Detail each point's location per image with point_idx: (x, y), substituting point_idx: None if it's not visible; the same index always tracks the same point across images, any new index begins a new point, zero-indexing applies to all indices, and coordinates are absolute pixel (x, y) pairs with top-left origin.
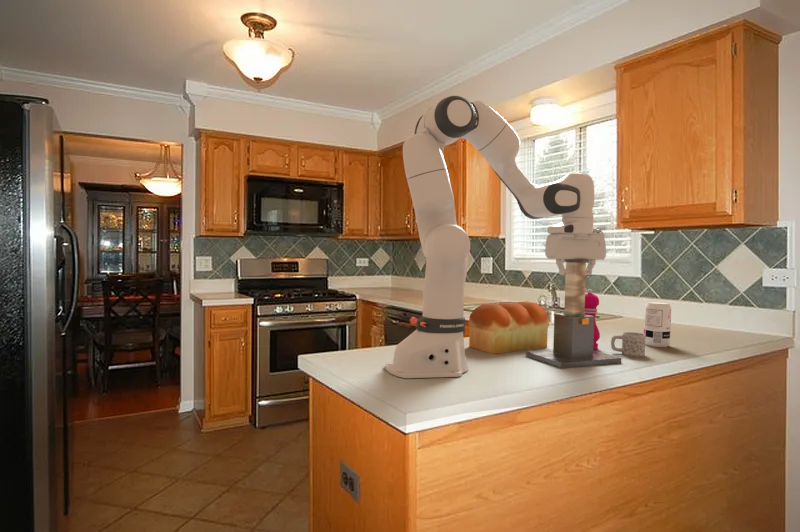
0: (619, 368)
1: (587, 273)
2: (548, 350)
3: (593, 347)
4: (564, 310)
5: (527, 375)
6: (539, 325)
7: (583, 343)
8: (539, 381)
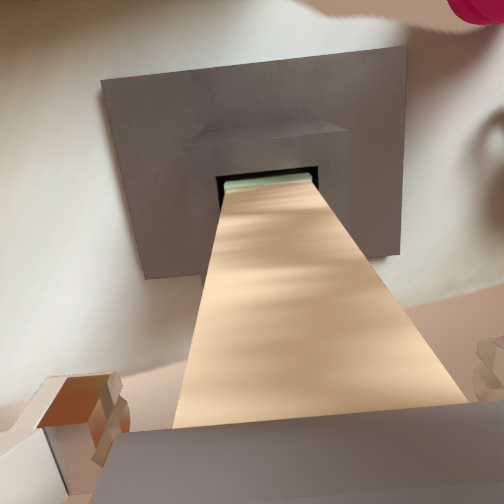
0: None
1: (483, 393)
2: (207, 84)
3: (482, 23)
4: (226, 190)
5: (13, 316)
6: None
7: None
8: (25, 367)
